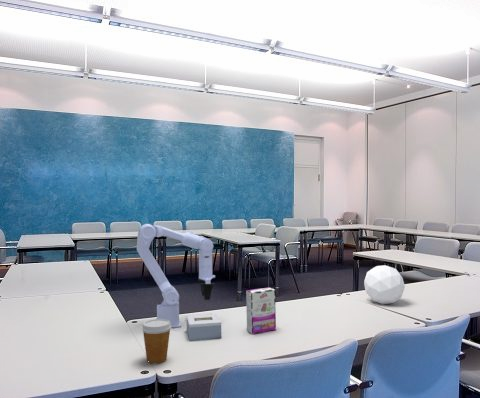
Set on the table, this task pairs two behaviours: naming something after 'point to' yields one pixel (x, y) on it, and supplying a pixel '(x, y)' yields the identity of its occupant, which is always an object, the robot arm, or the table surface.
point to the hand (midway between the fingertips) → (206, 297)
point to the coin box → (203, 327)
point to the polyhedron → (384, 284)
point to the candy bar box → (260, 310)
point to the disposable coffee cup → (156, 339)
